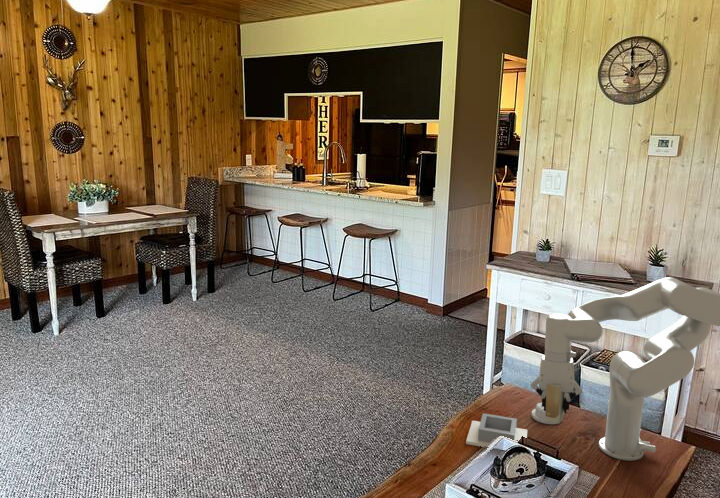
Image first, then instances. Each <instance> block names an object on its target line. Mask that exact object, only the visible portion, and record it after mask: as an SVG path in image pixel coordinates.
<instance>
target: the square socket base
mask: <svg viewBox="0 0 720 498" xmlns="http://www.w3.org/2000/svg"><path fill="white" fill-rule="evenodd" d="M517 419H518V418H514V417H510V416H509V417H507V416H502V415H496V414H489V413H484V412H483V413H482V415H481V418H480V421H478V420H471V424H470V428H469V430H468V434H467V437H466V441H465V445H470V446H475V447H476V446H477V447H480V446H481V447H482V448H485V447H484V446H486V445H487V444H489V443H490V442H491V441H492V440H493V439H495V438H496V437H499V436H504V437H507V438H510V439H512V440H518V441H519V440H520V439H521V437H522V436H523V437H525V438H527V439H528V429H525V428H520V427H517V423H518V422H517V421H518V420H517Z"/></svg>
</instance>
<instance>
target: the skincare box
mask: <svg viewBox="0 0 720 498" xmlns="http://www.w3.org/2000/svg"><path fill="white" fill-rule="evenodd" d="M564 398H565V394H564V392H562V386H561V385H552V384H547V386H546V415H545V420H546V421H550V422H554V423H557V425H560V423H561V422H562V421H561V420H563V419H564V417H565V413H564Z"/></svg>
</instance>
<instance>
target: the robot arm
mask: <svg viewBox="0 0 720 498" xmlns="http://www.w3.org/2000/svg"><path fill="white" fill-rule="evenodd" d="M665 310H671V311H672V312H673V313H675V314H679V315H681V316H682V317H681V318H680V319H679V320H678V321H677V322H675V323H674V324H672V325H670V326H669V327H667V328H666V329H664V330H662V331H660V332H659V333H657V334H656V335H654V336H652V337H651V338H649V339H647V340H646V342H645V343H644V345H643V353H644V356H645V357H646V358H647V359H648V361H646V360H645V359H643V357H641V356H640V355H638V354H637V353H635V352H632V351H628V350H625V351H619V352H617V353H616V354H615V355H614V356H612V359H610V363H609V369H608V370H609V397H608V403H607V404H608V406H607V416H606V422H605V423H606V425H605V434H604V437H602V438H600V439H599V440H598V447H599V449H600V450H601V451H602V452H603V453H604V454H606V455H608V456H609V457H611V458H614V459H617V460H622V461H637V460H640V459H642V458H643V456H644V451H647V452H651V453H656V452H657V451H656V450H657V448H656V447H657V446H656V445H653V444H651V441H647V440H642V439H641V438H640V436H641V427H642V417H643V411H644V410H643V408H644V401H645V398H649V397H652V396H655V395H657V394H658V393H661V392H662V391H664V390H665V389H668V388H669V387H671V386H672V385H674V384H677V383H678V382H679V381H681V380H682V379H684V378H685V377H687V376H688V375H689V374H690V373H691V372H692V370H693V368H694V365H695V357H694V355H693V353H692V351H693V350H694V349H695V348H697V347H698V346H700V345H701V344H702V343H704V342H705V340H706V339H707V338H708V336H709V335H710V331H711V329H712V326H715V327H716V326H717V327H720V293H719V292H717V291H715V290H713V289H710V288H708V287H701V286H700V287H694V286H692V285H690V284H688V283H686V282H684V281H682V280H679V279H677V278H675V277H671V276H669V277H663V278H661V279H657V280H654V281H653V282H650V283H648V284H646V285H644V286H641V287H639V288H636V289H634V290H631V291H629V292H626V293H624V294H620V295H612V296H608V297H603V298H598V299H597V298H596V299H593V300H591V301H587V302H586V303H584V304H581V305H579V306H577V307H575V308H572V310H570V311H569V312H568V313H567V314H566V313H565V314H563V313H552V314H551V313H550V314H549V315H547V317H546V319H545V335H544V336H545V338H544V339H545V341H544V354H543V355H542V356H541V358H540V360H541V361H540V363H539V372H538V373H539V374H538V376H537V377H536V378H534V380H533V381H532V382H531V383H530V387H531V388H532V389H533V390H534V391H535V392H536V393H537V394H538V395H539V396H540V397H541V403H542V407H544V411H546V386H547V384H552V385H561V386H562V392H564V394H565V398H564V414H567V411H570V402H571V401H572V400H573V399H574V398H575V397H577V396H578V395H580V394H582V393H583V389H582V388H581V387H580V385H579V383H577V381H576V380H575V363H574V359H573V358H577V353H576V352H574V351H572V343H573V342H572V341H574V342H580V343H587V344H588V343H591V344H592V343H595V342H597V341H599V340H600V339H601V337H602V336H603V328H602V325H601V323H602V322H606V321H610V320H611V321H612V320H613V321H615V320H617V321H627V322H638V321H641V320H644V319H646V318H648V317H650V316H654V315H655V314H658V313H660V312H663V311H665Z"/></svg>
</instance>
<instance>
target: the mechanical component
mask: <svg viewBox="0 0 720 498" xmlns="http://www.w3.org/2000/svg"><path fill="white" fill-rule="evenodd" d="M545 415H546V411H544V407H542V402H537V404H535V408H534V409H532V410H531V417H532V419H534V420H535V421H536V422H539V423H541V424H544V425H558V423H554V422H550V421H546V420H545ZM562 420H563V419H562ZM562 420H561V422H562Z"/></svg>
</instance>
